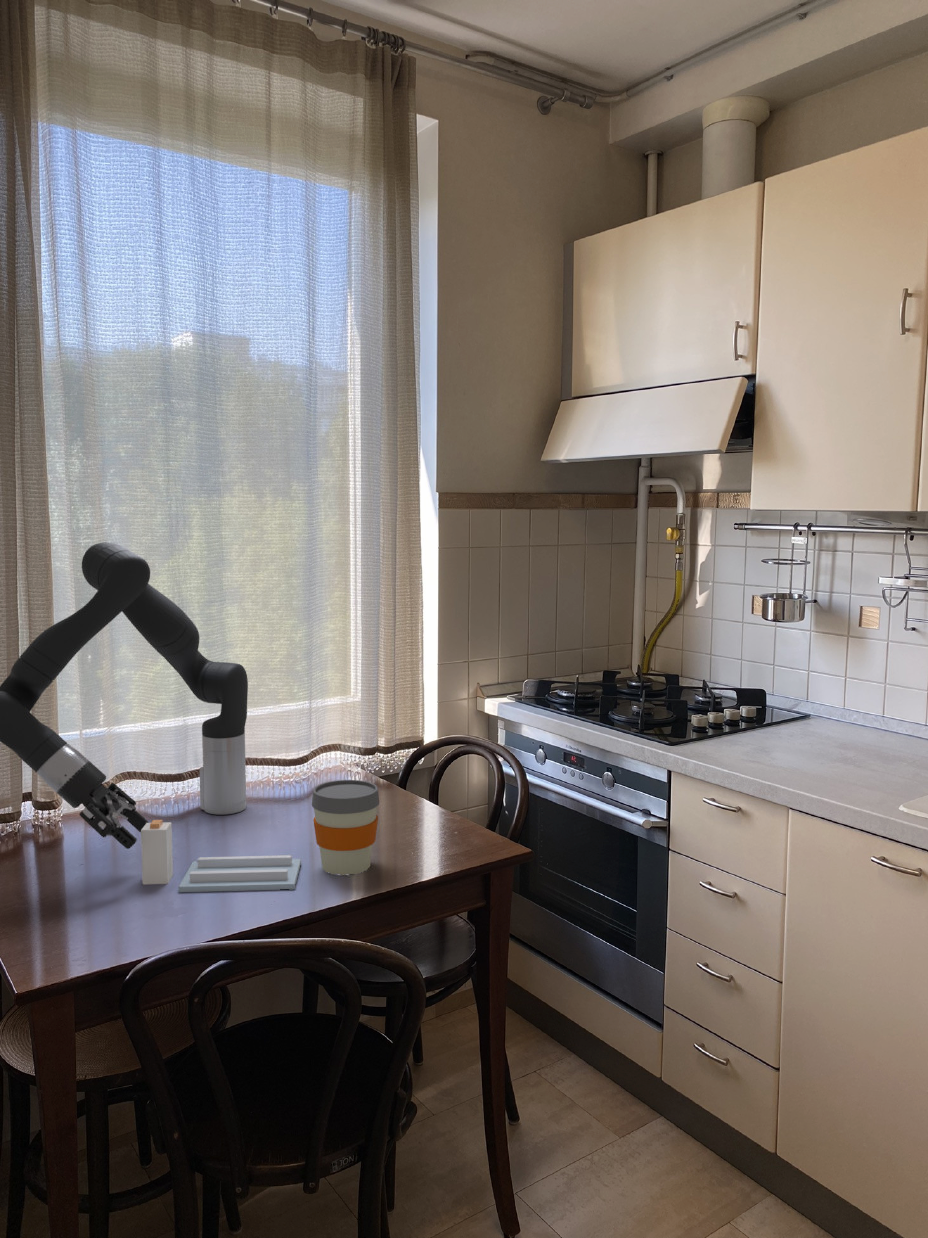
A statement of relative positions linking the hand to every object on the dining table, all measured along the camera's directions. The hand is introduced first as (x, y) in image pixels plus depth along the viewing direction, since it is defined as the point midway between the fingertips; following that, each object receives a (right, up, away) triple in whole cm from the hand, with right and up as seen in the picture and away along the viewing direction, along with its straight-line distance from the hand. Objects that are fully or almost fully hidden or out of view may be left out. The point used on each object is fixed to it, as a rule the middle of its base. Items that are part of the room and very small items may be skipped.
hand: (139, 836), depth 165 cm
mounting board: (+18, -8, +2) cm, 20 cm away
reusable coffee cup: (+36, -8, +8) cm, 38 cm away
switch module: (+3, -8, +1) cm, 9 cm away
